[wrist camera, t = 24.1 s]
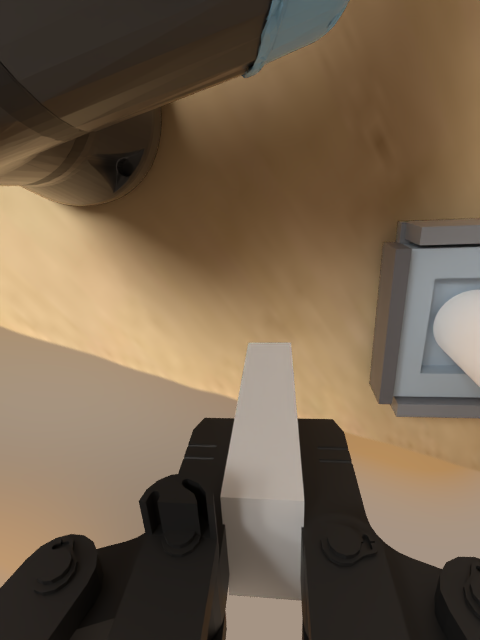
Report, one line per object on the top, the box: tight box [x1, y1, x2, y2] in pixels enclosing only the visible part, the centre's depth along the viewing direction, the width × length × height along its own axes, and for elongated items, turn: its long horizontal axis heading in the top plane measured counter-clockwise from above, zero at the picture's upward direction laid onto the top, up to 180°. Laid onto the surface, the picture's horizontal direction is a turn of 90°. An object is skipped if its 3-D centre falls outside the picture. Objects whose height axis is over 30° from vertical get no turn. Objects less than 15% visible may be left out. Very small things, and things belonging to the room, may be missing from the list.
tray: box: [369, 242, 480, 404], centre depth 31 cm, size 15×14×4 cm
